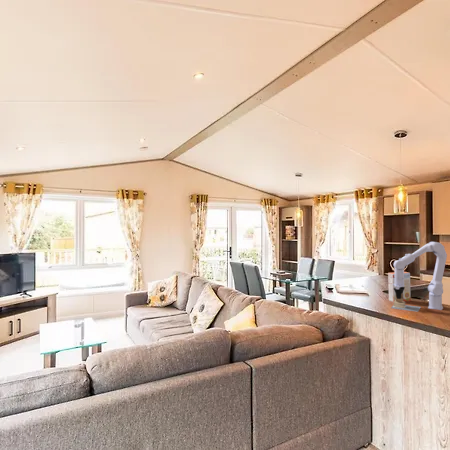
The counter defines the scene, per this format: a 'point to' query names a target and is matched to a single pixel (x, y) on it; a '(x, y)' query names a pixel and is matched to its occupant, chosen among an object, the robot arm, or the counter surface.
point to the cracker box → (391, 287)
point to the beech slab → (399, 304)
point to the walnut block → (400, 299)
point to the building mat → (408, 308)
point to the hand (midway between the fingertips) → (399, 298)
